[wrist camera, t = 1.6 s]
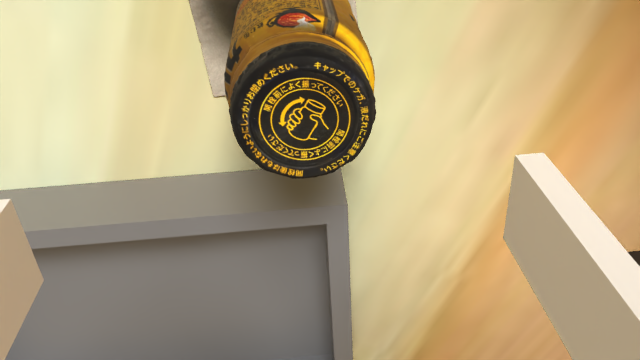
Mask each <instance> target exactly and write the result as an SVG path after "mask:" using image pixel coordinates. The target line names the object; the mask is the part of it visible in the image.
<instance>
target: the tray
mask: <svg viewBox="0 0 640 360" xmlns="http://www.w3.org/2000/svg"><path fill="white" fill-rule="evenodd" d="M2 199H11V201H12V203H13V206H14V208H15V211H16V213H17V216H18V218H19V221H20V223H21V225H22V228H23V230H24V233H25V235H26V238H27V240H28V243H29V245H30V247H31V250H32V252H33V255H34V257H35V260H36V262H37V264H38V267H39V269H40V272H41V274H42V277H43V279H44V281H43V283H42V285H41V287H40V289H39V291H38V293H37V295H36V297H35V299H34V301H33V303H32V305H31V307H30V309H29V311H28V313H27V315H26V317H25V319H24V321H23V323H22V326H21V328H20V330H19V332H18V334H17V336H16V338H15V340H14V342H13V344H12V346H11V348H10V350H9V352H8V354H7V356H6V358H5V360H353V351H352V321H351V292H350V263H349V233H348V204H347V199H346V194H345V189H344V184H343V179H342V173H341V168H339V169H338V170H336V171H335V172H333V173H330V174H327V175H323V176H318V177H314V178H304V179H292V178H289V177H286V176H282V175H278V174H275V173H272V172H268V171H265V170H264V169H261V170H249V171H236V172H224V173H212V174H199V175H187V176H175V177H163V178H150V179H138V180H126V181H113V182H101V183H89V184H77V185H64V186H52V187H40V188H28V189H15V190H3V191H0V200H2Z"/></svg>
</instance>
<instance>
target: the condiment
mask: <svg viewBox="0 0 640 360" xmlns="http://www.w3.org/2000/svg"><path fill="white" fill-rule="evenodd" d="M189 2H190V6H191V10H192V14H193V17H194V21H195V25H196V29H197V33H198V37H199V41H200V43H201V48H202V52H203V56H204V60H205V64H206V68H207V71H208V75H209V80H210V84H211V88H212V91H213V95H214V97H217V96H223V95H226V99H227V101H228V104H229V107H230V108H229V113H230V117H231V124H232V127H233V132H234V135H235V137H236V139H237V142H238V144H239V146H240V147H241V148H242V150H243V151H244V153H245V154H246V156H248V157H249V158H250V159H252V160H253V161H254V162H255V163H256V164H257V165H259V166H260V167H261V168H262V169H264V170H265V171H268V172H272V173H275V174H278V175H282V176H286V177H289V178H292V179H304V178H314V177H318V176H323V175H327V174H330V173H333V172H335V171H336V170H338V169H339V168H340V167H342V166H343V165H345V164H347V163H349V162H351V161H353V160H354V159H355V158H356V157H357V156H358V154H359V153H360V152H361V150H362V149H363V147H364V146H365V144H366V141H367V140H368V138H369V135H370V133H371V129H372V125H373V123H374V121H375V115H376V109H375V97H374V94H373V93H374V81H375V76H374V67H373V63H372V58H371V56H370V53H369V50H368V47H367V45H366V43H365V41H364V40H363V37H362V35H361V32H360V30H359V28H358V21H357V12H356V2H355V0H189Z"/></svg>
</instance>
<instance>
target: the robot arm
mask: <svg viewBox="0 0 640 360" xmlns="http://www.w3.org/2000/svg"><path fill="white" fill-rule="evenodd" d="M503 239H504V240H505V242H506V244H507V246H508V247H509V249H510V251H511V253H512V254H513V256H514V258H515V260H516V261H517V263H518V265H519V267H520V268H521V270H522V272H523V274H524V275H525V277H526V279H527V281H528V282H529V284H530V286H531V288H532V289H533V291H534V293H535V295H536V296H537V298H538V300H539V302H540V303H541V305H542V307H543V309H544V310H545V312H546V314H547V316H548V317H549V319H550V321H551V323H552V324H553V326H554V328H555V330H556V331H557V333H558V335H559V337H560V338H561V340H562V342H563V344H564V345H565V347H566V349H567V351H568V352H569V354H570V356H571V358H572V359H573V360H640V251H633V252H627V251H626V250H625V249H624V247H623V246H622V245H621V244H620V243H619V241H618V240H617V239H616V238H615V237H614V236H613V234H612V233H611V232H610V231H609V230H608V228H607V227H606V226H605V225H604V224H603V222H602V221H601V220H600V219H599V218H598V217H597V215H596V214H595V213H594V212H593V211H592V209H591V208H590V207H589V206H588V205H587V204H586V202H585V201H584V200H583V199H582V198H581V196H580V195H579V194H578V193H577V192H576V190H575V189H574V188H573V187H572V186H571V185H570V183H569V182H568V181H567V180H566V179H565V177H564V176H563V175H562V174H561V173H560V172H559V170H558V169H557V168H556V167H555V166H554V164H553V163H552V162H551V161H550V160H549V159H548V157H547V156H546V155H545V154H544V153H535V154H523V155H515V160H514V167H513V174H512V181H511V187H510V194H509V201H508V208H507V215H506V222H505V229H504V236H503ZM43 281H44V279H43V277H42V274H41V272H40V269H39V267H38V264H37V262H36V260H35V257H34V255H33V252H32V250H31V247H30V245H29V243H28V240H27V238H26V235H25V233H24V230H23V228H22V225H21V223H20V221H19V218H18V216H17V213H16V211H15V208H14V206H13V203H12V201H11V199H2V200H0V360H5V358H6V356H7V354H8V352H9V350H10V348H11V346H12V344H13V342H14V340H15V338H16V336H17V334H18V332H19V330H20V328H21V326H22V323H23V321H24V319H25V317H26V315H27V313H28V311H29V309H30V307H31V305H32V303H33V301H34V299H35V297H36V295H37V293H38V291H39V289H40V287H41V285H42V283H43Z"/></svg>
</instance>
